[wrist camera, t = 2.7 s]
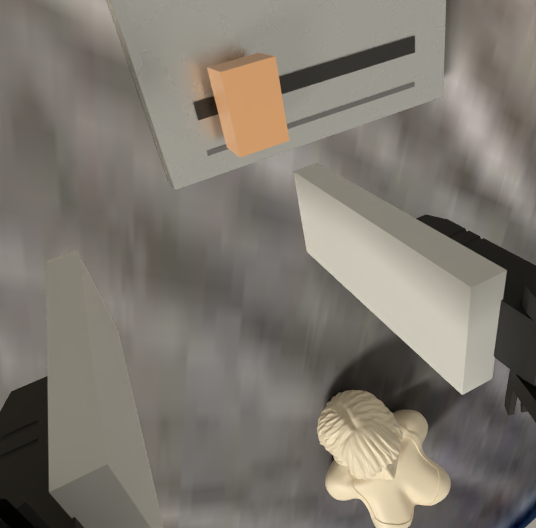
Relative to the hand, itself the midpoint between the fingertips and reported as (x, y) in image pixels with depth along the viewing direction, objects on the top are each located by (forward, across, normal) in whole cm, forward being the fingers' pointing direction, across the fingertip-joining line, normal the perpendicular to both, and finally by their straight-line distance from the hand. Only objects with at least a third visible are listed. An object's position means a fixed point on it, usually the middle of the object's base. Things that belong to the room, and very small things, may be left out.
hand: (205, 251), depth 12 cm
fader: (+15, +6, 0) cm, 16 cm away
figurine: (+17, +12, -38) cm, 44 cm away
